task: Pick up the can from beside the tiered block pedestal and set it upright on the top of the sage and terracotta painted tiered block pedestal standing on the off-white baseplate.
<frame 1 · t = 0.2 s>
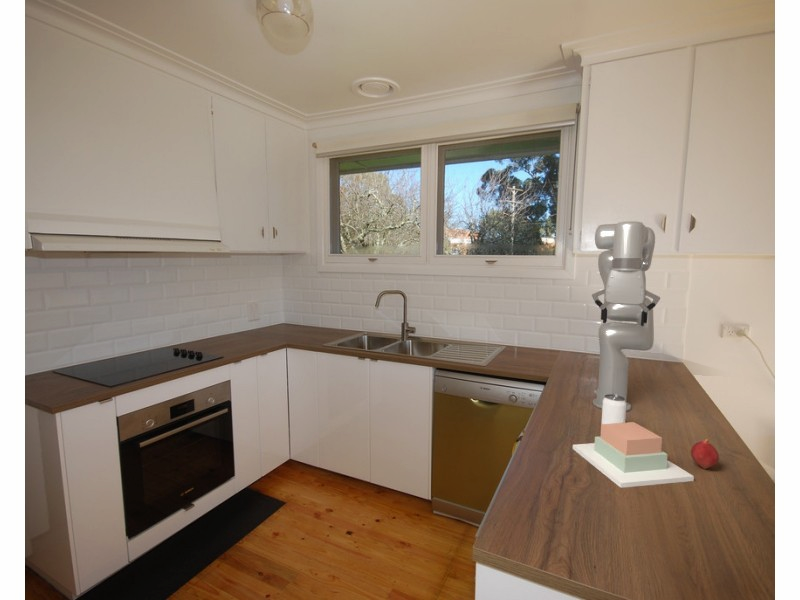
hand: (623, 324, 116), 36 cm above the worktop, tool pointing down, fingers open, 9 cm apart
tiered block pedestal: (628, 463, 107), on the worktop
can: (612, 434, 125), on the worktop
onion: (703, 468, 105), on the worktop
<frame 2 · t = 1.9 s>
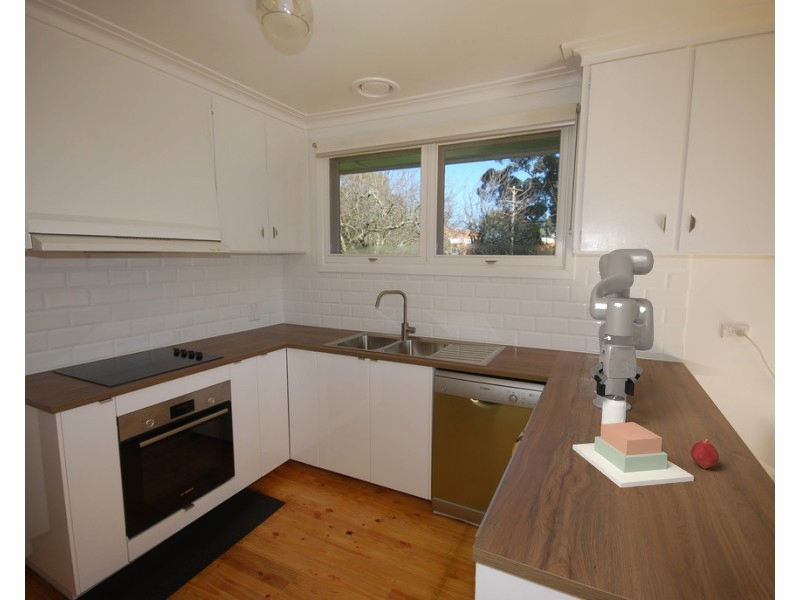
hand: (614, 395, 123), 13 cm above the worktop, tool pointing down, fingers open, 9 cm apart
nothing on the worktop moved.
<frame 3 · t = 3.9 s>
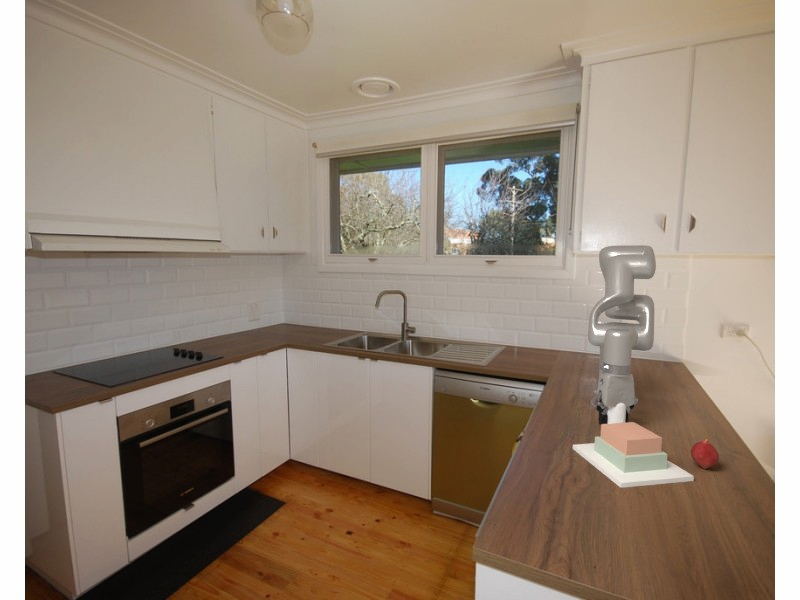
hand: (613, 424, 125), 3 cm above the worktop, tool pointing down, fingers closed on can, 6 cm apart
can: (612, 434, 125), on the worktop, touching gripper
everything else where it was.
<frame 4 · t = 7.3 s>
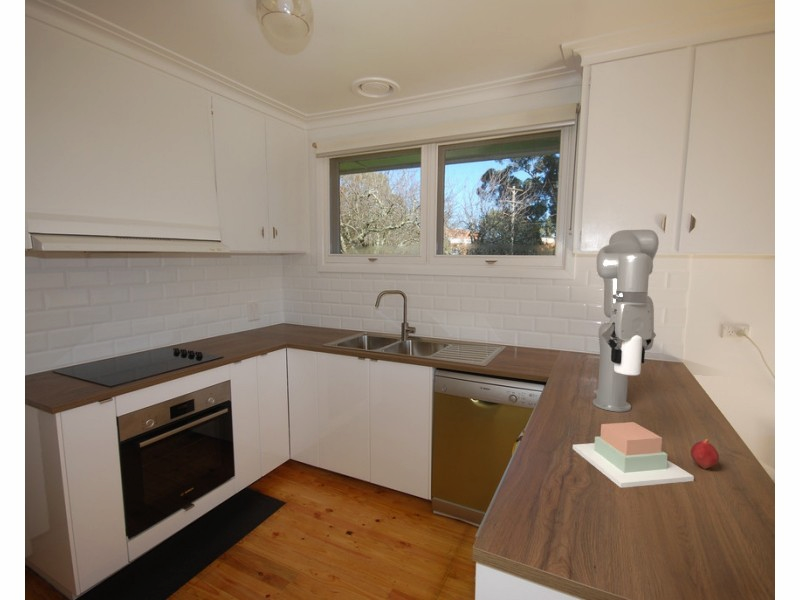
hand: (627, 361, 111), 26 cm above the worktop, tool pointing down, fingers closed on can, 6 cm apart
can: (626, 373, 111), point 23 cm above the worktop, touching gripper
everything else where it was.
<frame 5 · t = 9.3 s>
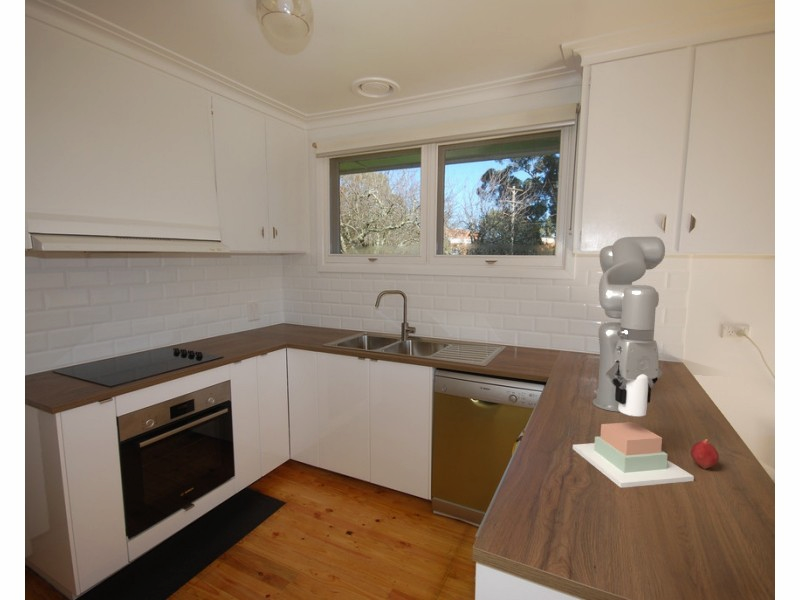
hand: (632, 401, 105), 17 cm above the worktop, tool pointing down, fingers closed on can, 6 cm apart
can: (631, 413, 106), point 14 cm above the worktop, touching gripper
everything else where it was.
when the fingers open (14 cm above the worktop, at t = 10.9 s): can drops 1 cm, resting on tiered block pedestal.
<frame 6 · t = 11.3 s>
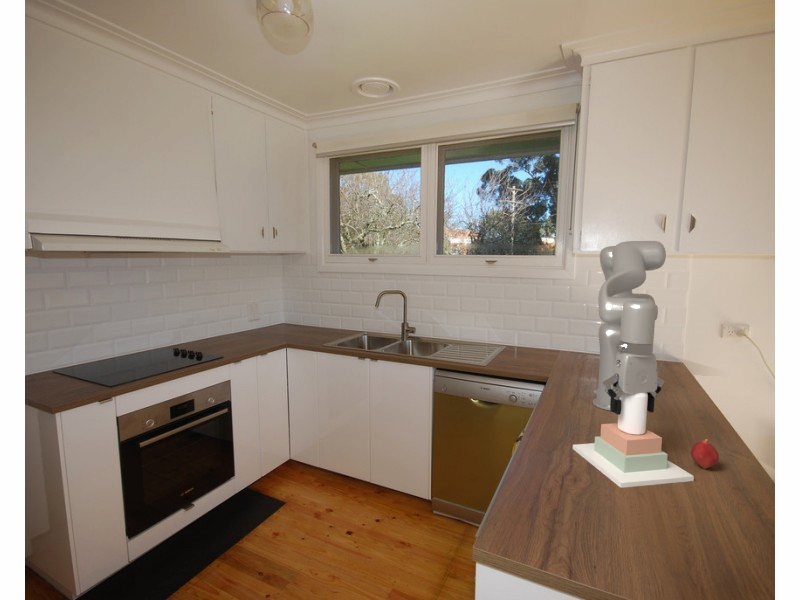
hand: (631, 411, 106), 14 cm above the worktop, tool pointing down, fingers open, 9 cm apart
can: (631, 431, 106), point 9 cm above the worktop, touching tiered block pedestal
everything else where it was.
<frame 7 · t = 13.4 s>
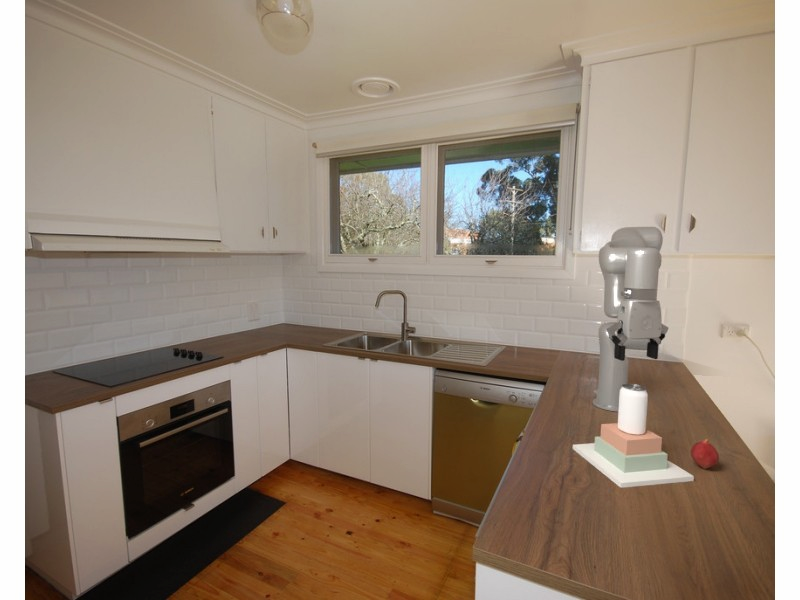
hand: (635, 358, 107), 28 cm above the worktop, tool pointing down, fingers open, 9 cm apart
nothing on the worktop moved.
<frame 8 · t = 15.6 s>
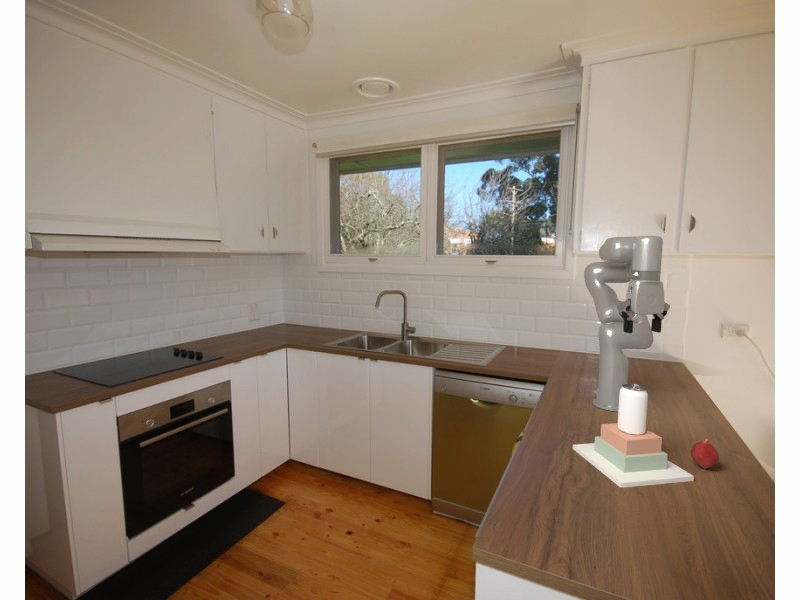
hand: (641, 332, 123), 32 cm above the worktop, tool pointing down, fingers open, 9 cm apart
nothing on the worktop moved.
at the end: can inside the target area on the tiered block pedestal (0.3 cm from its centre), point 9.0 cm above the tiered block pedestal's base; can tilted 0°; the gripper is holding nothing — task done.
